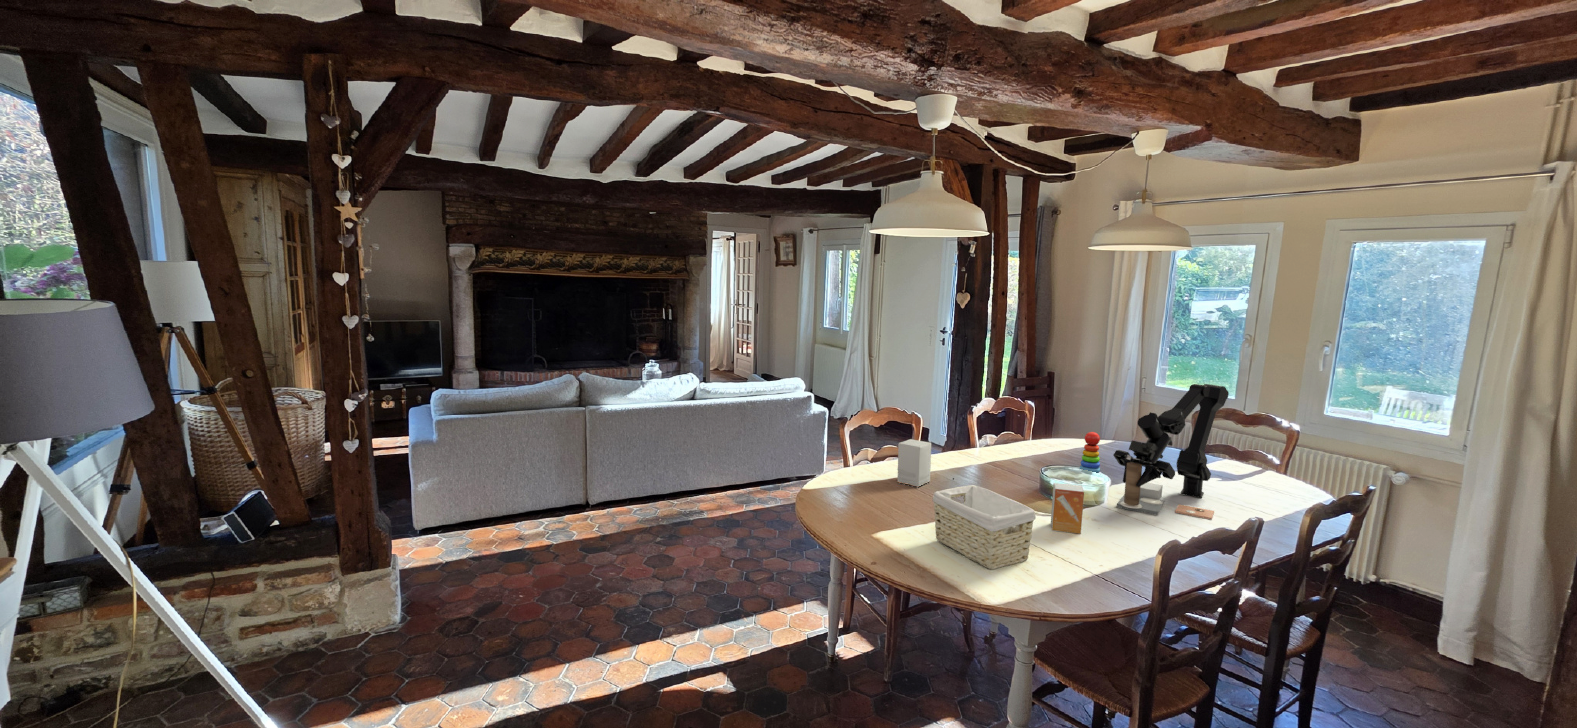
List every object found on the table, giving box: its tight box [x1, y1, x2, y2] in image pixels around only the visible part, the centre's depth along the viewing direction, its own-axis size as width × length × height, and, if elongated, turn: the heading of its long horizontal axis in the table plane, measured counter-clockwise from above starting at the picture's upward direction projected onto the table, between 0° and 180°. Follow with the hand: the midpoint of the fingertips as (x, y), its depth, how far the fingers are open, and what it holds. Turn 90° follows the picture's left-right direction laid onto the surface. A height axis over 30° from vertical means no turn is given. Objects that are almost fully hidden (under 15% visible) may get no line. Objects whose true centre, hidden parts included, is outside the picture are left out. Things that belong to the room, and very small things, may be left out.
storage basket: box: [932, 484, 1037, 570], centre depth 181 cm, size 24×16×15 cm
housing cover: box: [1140, 482, 1163, 500], centre depth 228 cm, size 8×8×4 cm
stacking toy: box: [1079, 431, 1101, 473], centre depth 244 cm, size 8×8×19 cm
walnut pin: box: [1123, 462, 1143, 505], centre depth 216 cm, size 4×4×13 cm
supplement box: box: [897, 438, 932, 487], centre depth 241 cm, size 9×9×15 cm
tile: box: [1174, 503, 1215, 520], centre depth 214 cm, size 8×10×1 cm
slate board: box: [1116, 493, 1165, 516], centre depth 219 cm, size 15×12×1 cm
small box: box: [1050, 482, 1085, 535], centre depth 198 cm, size 8×6×13 cm
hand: (1130, 484), depth 215 cm, fingers closed on walnut pin, 4 cm apart
